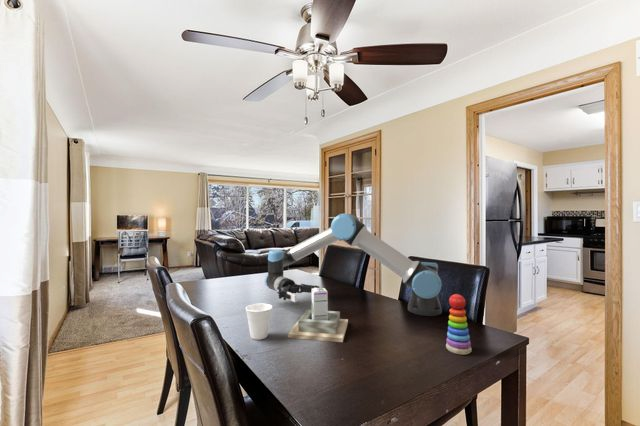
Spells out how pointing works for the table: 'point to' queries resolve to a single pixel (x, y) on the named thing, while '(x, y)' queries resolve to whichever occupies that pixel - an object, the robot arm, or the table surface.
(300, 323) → the socket block
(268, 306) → the cup
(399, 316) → the table surface
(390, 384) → the table surface
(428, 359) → the table surface
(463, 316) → the stacking toy
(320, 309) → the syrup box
